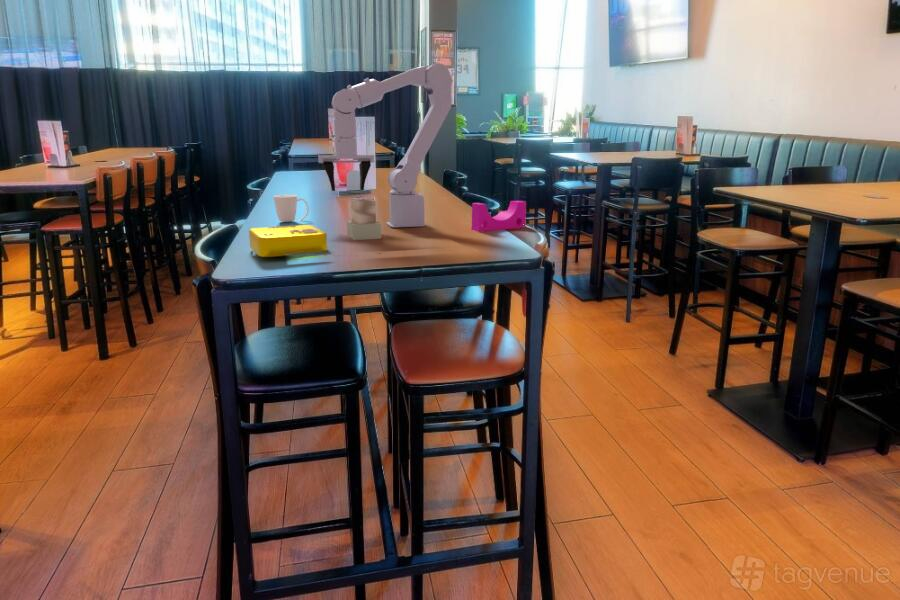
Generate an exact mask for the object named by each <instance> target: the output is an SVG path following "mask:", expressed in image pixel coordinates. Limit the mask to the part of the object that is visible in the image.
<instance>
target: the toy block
mask: <svg viewBox="0 0 900 600" xmlns="http://www.w3.org/2000/svg"><path fill="white" fill-rule="evenodd" d="M508 205H509V206H508V207H507V210H501V211H499V213H497V214H496V215H494V216H491V215H490V213H489V212H488V208H487V204H486V203H480V202H472V203H471V230H472V231H474V230H475V231H474V232H477V231H478V233H481V232H480V231H485V232H491V231H490V230H494V231H501V230H510V229H512V230H513V229H520V228H524V227H523V226H525V227H526V219H527V218H526V215H527V214H526V213H527V202H526V201H523V200H510V202H509V204H508ZM523 224H524V225H523Z"/></svg>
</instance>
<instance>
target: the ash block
mask: <svg viewBox="0 0 900 600" xmlns="http://www.w3.org/2000/svg"><path fill="white" fill-rule="evenodd" d="M376 205H377V204H376V199H375V200H374V199H367V198H362V199H350V206H351V207H350V208H351V210H350V211H351V221H352V222H354V223H357V224H368V223H376V221H377V215H376V214H377V210H376V209H377V208H376V207H377V206H376Z"/></svg>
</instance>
